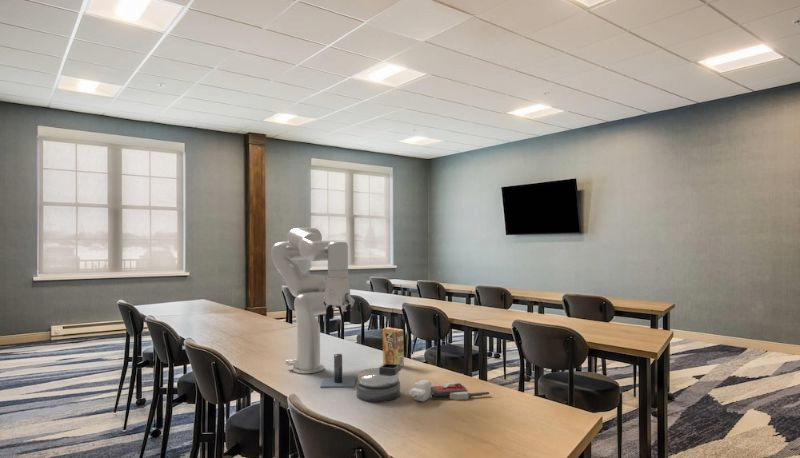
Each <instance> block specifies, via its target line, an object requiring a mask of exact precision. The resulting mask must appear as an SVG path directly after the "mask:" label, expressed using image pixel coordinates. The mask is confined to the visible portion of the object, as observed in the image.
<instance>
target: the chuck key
mask: <svg viewBox="0 0 800 458" xmlns="http://www.w3.org/2000/svg"><path fill="white" fill-rule="evenodd" d="M333 369H334V370H333V371H334V372H333V374H334V375H333V378H334V382H335V383H341V382H342V378H343V354H342V353H335V354H334V355H333Z"/></svg>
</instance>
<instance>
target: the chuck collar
mask: <svg viewBox="0 0 800 458" xmlns="http://www.w3.org/2000/svg"><path fill="white" fill-rule="evenodd" d="M401 367H402V366H401V365H399V364H387V363H385V364H382V365H381V366H380V367H371V368H367V369H363V370H360V371H359V372H358V373H357V382H358V385H360V386H361V387H364V388H370V389H384V388H390V387H394V386H396V385H397V384H398V383H399V382H400V380H399V379H400V378H399V377H400V376H399V375H400V374H399V373H400V372H401V370H402V369H401Z"/></svg>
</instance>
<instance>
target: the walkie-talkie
mask: <svg viewBox="0 0 800 458" xmlns="http://www.w3.org/2000/svg"><path fill="white" fill-rule="evenodd" d="M484 395H485V396H486V395H490V391H481V392H472V393H471V392H468V389H467V388H466V387H465V386H464V385H463V384H462V383H460V382H459V381H450V382H446V384H444V385H443V384H442V383H439V385H437V386H436V385H434V386H431V398H432V399H434V400H436V401H437V400H448V399H450V400H455V401H459V400H469V398H472V397H480V396H481V397H482V396H484Z"/></svg>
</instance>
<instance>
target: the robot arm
mask: <svg viewBox="0 0 800 458" xmlns="http://www.w3.org/2000/svg"><path fill="white" fill-rule="evenodd" d="M286 237H287V238H286V239H287V240H286V241H280V242H276V243H275V244H273V246H272V247H271V250H270V251H271V252H270V255H271V260H272V264H273V266H274V267H275V269H276V270H277V272H278V273H279V274H280V276H281V277H282V278H283V280H284V283H285V285H286V286H287V289H288V290H289V292H290V294H291V295H292V296H293V297H295V298H294V301H293V302H294V303H293V308H294V313H295V318H296V319H295V320H296V323H295V324H296V358H294V359H286V361H285V364H286V365H287V366H293V367H292V371H293V372H294V373H296V374H307V375H308V374H314V373H319V372H321V371H324V370H325V366H324V364H322V363H321V325H320V323H319V321H318V320H317V318H316V316H319V315H325V319H326V320H332V319H334V318H335V317H334V314H335V313H334V311H335V310H336V308H337V307H342V310H343V311H342V322H343V323H349V322H351V312H352V309H353V307H354V305H355V299H354V298H353V296H351V287H350V286H351V285H350V280H349V244H348V243H347V242H346V241H336V240H323V237H322V233H321V231H320V230H319V229H318V228H316V227H294V228H292V229H290V230H289V232H288V233H287V236H286ZM305 260H307V261H312V262H317V261H320V262H321V261H322V262H324V261H327V277H326V279H325V277H323V276H322V275H320V274H317V273H316V274H315V273H314V274H306V273H304V272H303V271H302V268H301V267H300V265H298V264H297V263H295V262H294V261H305Z"/></svg>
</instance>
